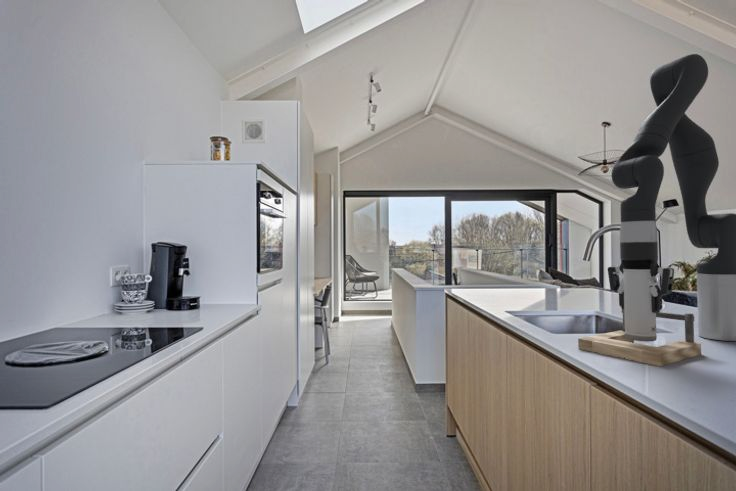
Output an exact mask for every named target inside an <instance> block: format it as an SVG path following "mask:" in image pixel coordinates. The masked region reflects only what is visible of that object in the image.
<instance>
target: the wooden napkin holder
mask: <svg viewBox="0 0 736 491" xmlns="http://www.w3.org/2000/svg"><path fill="white" fill-rule="evenodd" d="M621 314H622V330H615V331H610V332H606V333H605V332H604V333H600V334H594V335H589V336H585V337H579V338H578V340H577V342H578V350H583V351H588V352H592V353H596V352H597V354H601V355H604V356H605V355H606V356H610V355H611V356H610V357H615V358H619V357H620V359H624V358H625V360H629V361H633V360H634V362H639V363H643V364H648V365H651V366H658V367H662V366H666V365H669V364H674V363H677V362H679V361H683V360H686V359H690V358H693V357H697V356H700V355H702V343H701V342H697V341H696V342H695V328H694V327H695V326H694V324H695V323H694V322H695V315H694V313H688V312H686V313H684V314H681V313H672V312H663V311H660V312H658V313H656V318H660V319H661V318H662V319H668V320H677V321H683V322H684V338H685V339H684V340H680V341H675V342H671V343H668V344H667V343H666V344H663V345H659V346H653V345H646V344H640V343H636V342H634V341H635V340H630V339H627V338H626V337H625V317H624V309H622V308H621ZM631 342H633V343H631Z"/></svg>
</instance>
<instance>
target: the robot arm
mask: <svg viewBox="0 0 736 491" xmlns="http://www.w3.org/2000/svg"><path fill="white" fill-rule="evenodd" d="M705 59H706V58H704V57H703V56H701V55H700V54H697V53H693V54H687V55H684V56H682V57H679V58H677V59H675V60H672V61H670V62H667V63H665V64H663V65H661V66H658V67H656V68H654V70H652V72H651V74H650V77H649V85H650V90H651V93H652V96H653V99H654V103H655V104H656V105H655V106H656V108H655V109H654V110H653V111H652V112H651V113H650V114H649V115H648V116H647V117H646V119H644V121H643V122H642V124H641V125H640V127H639V129H638V131H637V133H636V135H635V137H634V140H633V142H632V143H631V145H629V147H627V149H626V150H625V151H624V152H623V154H622V155H621V156H619V158H618V159H617V160H616V162H615V163H614V165H613V167H612V170H611V182H612V183H613V184H614V186H616V188H619V189H622V190H628V189H629V190H630V189H633V188H634V189H635V188H637V190H636V192H635V193H634V194H633V195H632V196H630V197H629V196H628V197H627V198H624V199H623V200H621V202H620V207H619V208H620V226H619V227H620V228H619V252H620V254H619V256H620V262H621V263H620V265H619V266H609V267H607V276H608V282H609V288H610V290H611V291H613V292H616V293H617V294H618V304H619V307H620V308H621V310H622V309H624V278H623V277H622V279H621V281H620V276H619V275H620V274H622V275H623V272H624V271H623V266H624V265H623V262H624V261H647V260H651V261H650V263H651V264H650V273H651V277H653V276H654V277H655V283H652V282H651V281H650V280H649V279H648V286H649V287H650V288H651V293H652V295H653V297H652V312H653V313H658V312H661V311H662V310H663V296H666V295H670V294H672V293H673V286H674V278H675V277H674V276H675V269H674V268H673V267H660V265H659V262H658V260H659V248H658V247H659V246H658V241H659V240H658V227H657V219H656V216H657V215H656V203H657V199H658V197H659V193H660V189H661V185H662V183H663V179H664V175H665V167H664V164H663V161H662V160H661V159H660V157H661V156H662V155H663V154H664V152H665V151H666V148H667V146H669V151H670V156H671V160H672V164H673V167H674V168H673V169H674V171H675V175H676V178H677V181H678V186H679V190H680V195H681V198H682V206H683V212H684V218H685V219H684V221H685V228H686V233H687V236H688V240H689V241H690V243H691V244H692V245H693V247H695V248H698V249H717V253H716V255H714V256H713V257H711V258H709V259H707V260H702V261H700V262H698V263H697V264H696V292H697V293H696V294H697V297H696V298H697V299H696V300H697V329H698V330H697V331H698V333H697V334H698V337H701V338H705V339H709V340H716V341H725V342H726V341H727V342H728V341H729V342H736V213H735V212H734V213H727V212H726V213H717V214H716V213H715V214H708V211H707V208H706V207H707V205H706V197H707V194H708V191H709V188H710V186H711V184H712V183H713V180H714V179H715V176H716V174H717V172H718V169H719V165H720V164H719V162H720V161H719V156H718V152H717V149H716V148H717V147H716V144H715V141H714V138H713V137H712V136H711V135H710V134H709V133H708V132H707V131H706V130H705V129H704V128H702V127H701V126H699V125H698V124H697V123H696V122H695V121H693V120H692V119H691V118H690V117H689V116H688V115H687V114H686V112H687V111H688V109H689V107H690V106H691V105H692V103H693V102H694V100H695V99H696V97H697V96H698V95H699V93H700V92H701V90H702V89H703V88H704V86H705V84H706V83H707V81H708V76H709V67H708V64H707V61H706V60H705ZM658 274H659V276H660V277H661V284H660V283H659V281H658V279H657V278H656V277H657V275H658Z"/></svg>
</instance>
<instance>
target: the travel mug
mask: <svg viewBox="0 0 736 491" xmlns="http://www.w3.org/2000/svg"><path fill="white" fill-rule="evenodd" d="M650 261H651V260H647V261H624V262H623V265H624V266H623V271H624V272H623V274H622V275H623V276H622V279H623V278H624V317H625V337H626V338H627V339H630V340H634V341H636V342H646V343H647V342H655V341H657V339H658V338H657V317H656V313H653V312H652V297H653V295H652V293H651V288H650V287H649V286H648V279H649V280H650V281H651V282H652V283H655V277H656V276H655V277H654V276H653V277H651V273H650V264H651V263H650Z"/></svg>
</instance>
